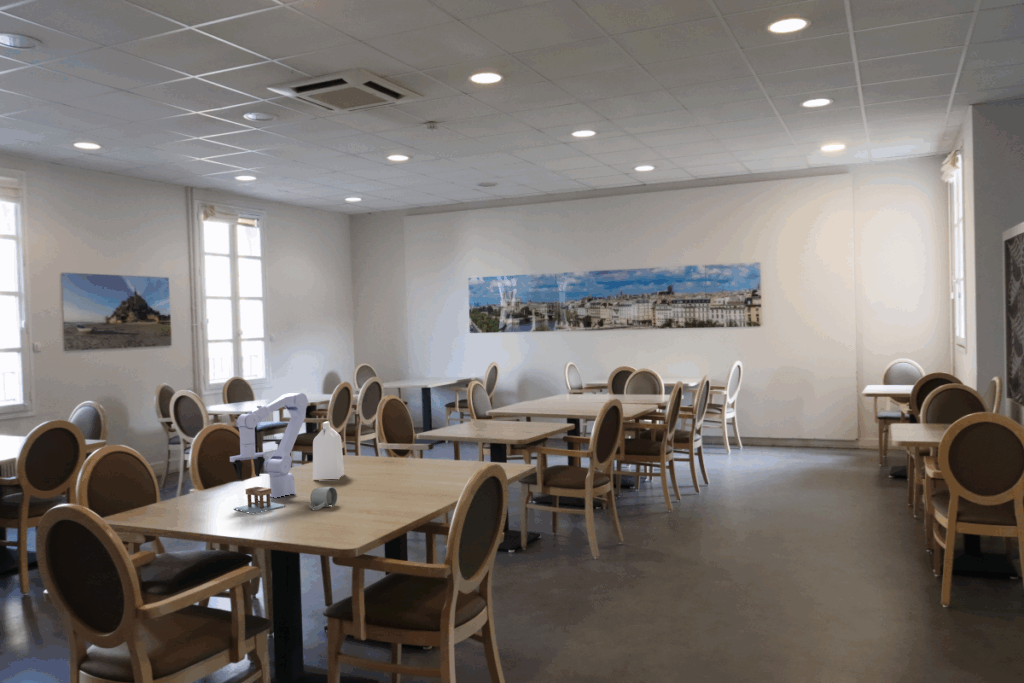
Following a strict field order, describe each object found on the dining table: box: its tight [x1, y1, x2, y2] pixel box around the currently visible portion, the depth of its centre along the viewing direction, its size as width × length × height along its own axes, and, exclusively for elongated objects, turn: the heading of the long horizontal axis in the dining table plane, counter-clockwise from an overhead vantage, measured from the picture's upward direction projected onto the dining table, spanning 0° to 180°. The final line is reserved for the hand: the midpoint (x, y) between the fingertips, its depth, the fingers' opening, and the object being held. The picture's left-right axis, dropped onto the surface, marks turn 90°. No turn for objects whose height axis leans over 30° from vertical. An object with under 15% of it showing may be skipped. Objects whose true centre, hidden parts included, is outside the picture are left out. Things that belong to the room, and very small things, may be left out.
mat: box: [234, 501, 286, 514], centre depth 298 cm, size 14×14×1 cm
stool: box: [245, 486, 271, 509], centre depth 299 cm, size 9×5×7 cm, turn 57°
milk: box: [312, 421, 345, 480], centre depth 357 cm, size 12×12×26 cm
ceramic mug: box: [309, 486, 338, 511], centre depth 295 cm, size 11×8×8 cm
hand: (248, 477), depth 308 cm, fingers open, 7 cm apart
